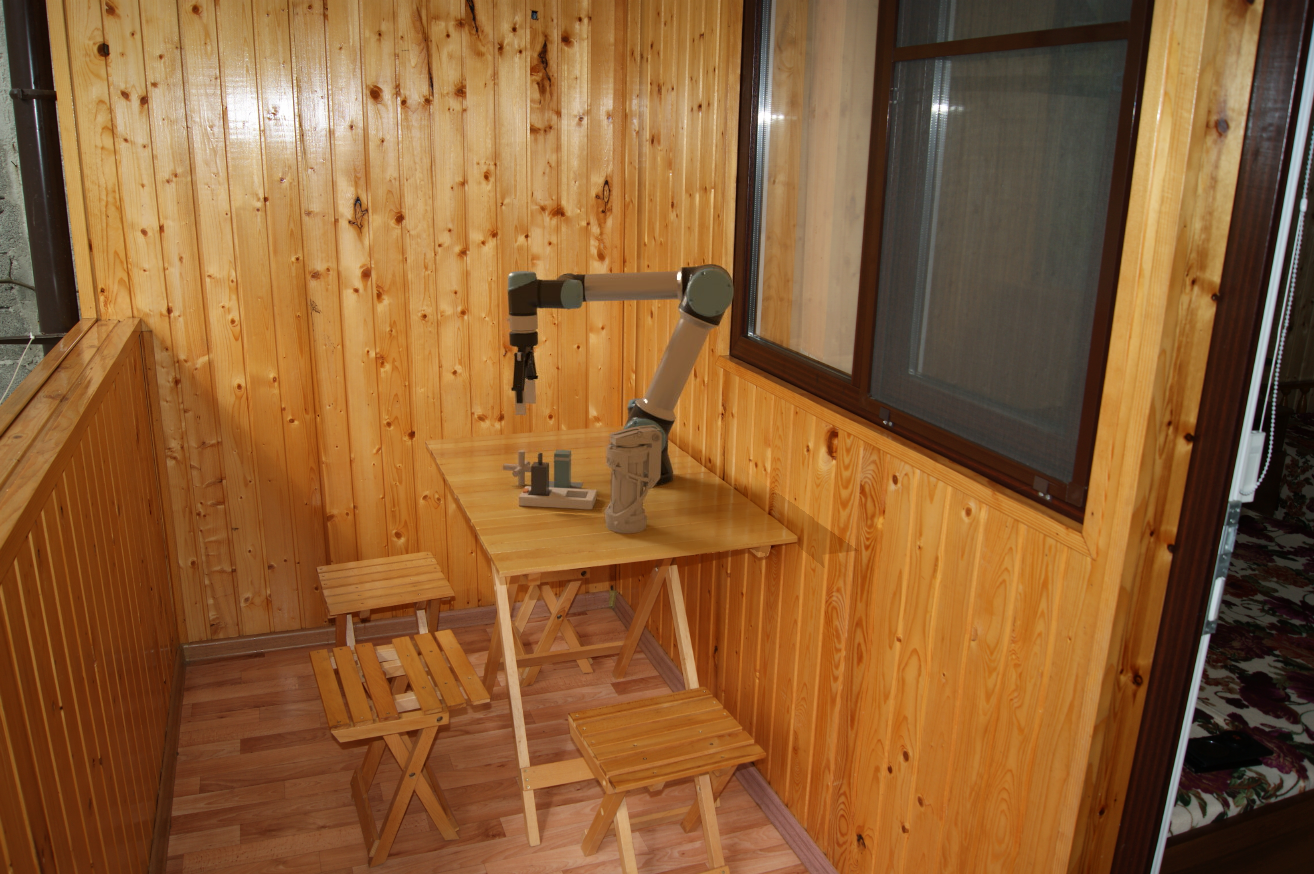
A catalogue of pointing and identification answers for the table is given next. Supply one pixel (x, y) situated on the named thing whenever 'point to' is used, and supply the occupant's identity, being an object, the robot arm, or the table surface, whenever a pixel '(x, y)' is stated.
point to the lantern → (632, 476)
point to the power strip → (560, 498)
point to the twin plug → (540, 477)
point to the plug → (562, 469)
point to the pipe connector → (519, 467)
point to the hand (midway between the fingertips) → (525, 409)
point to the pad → (573, 486)
